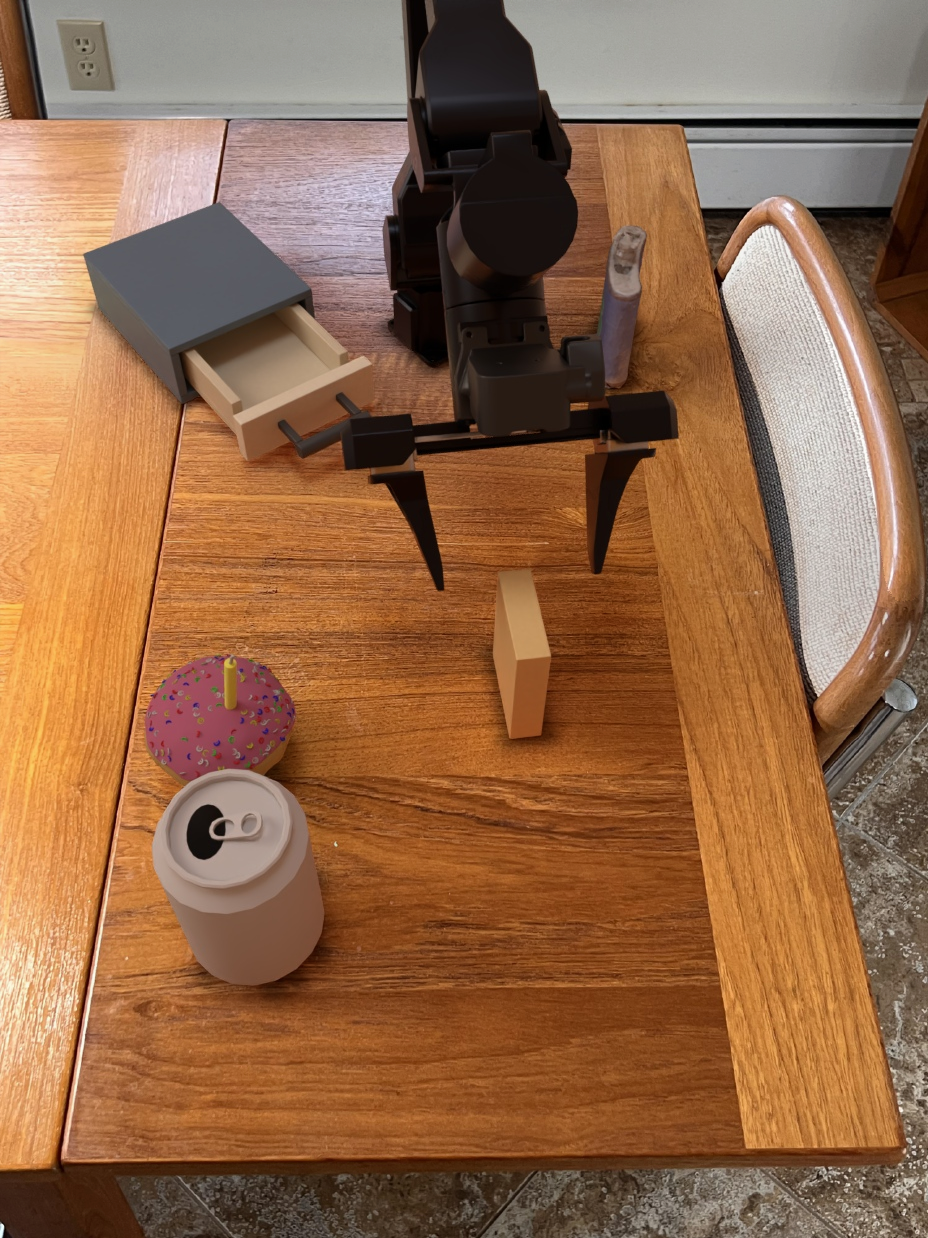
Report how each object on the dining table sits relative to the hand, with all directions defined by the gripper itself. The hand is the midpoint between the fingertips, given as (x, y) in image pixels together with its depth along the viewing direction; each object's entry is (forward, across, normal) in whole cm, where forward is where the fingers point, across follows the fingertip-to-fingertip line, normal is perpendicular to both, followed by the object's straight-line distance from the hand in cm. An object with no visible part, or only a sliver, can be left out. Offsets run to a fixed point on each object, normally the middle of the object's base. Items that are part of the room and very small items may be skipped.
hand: (518, 582), depth 67 cm
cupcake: (+10, -18, +4) cm, 21 cm away
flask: (-15, +14, +28) cm, 34 cm away
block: (+8, 0, +5) cm, 9 cm away
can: (+17, -17, -4) cm, 24 cm away
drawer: (-14, -13, +25) cm, 31 cm away
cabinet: (-20, -19, +33) cm, 43 cm away
